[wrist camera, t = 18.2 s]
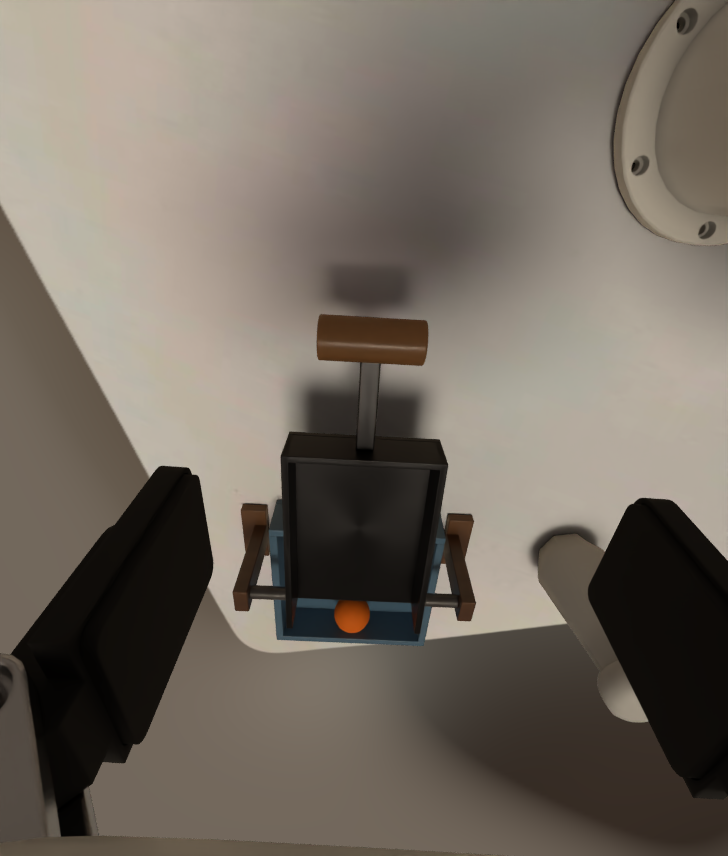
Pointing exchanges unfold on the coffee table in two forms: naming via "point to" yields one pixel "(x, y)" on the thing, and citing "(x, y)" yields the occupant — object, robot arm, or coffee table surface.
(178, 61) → the coffee table surface
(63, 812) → the robot arm
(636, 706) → the salt shaker
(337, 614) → the ball
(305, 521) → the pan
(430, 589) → the tray
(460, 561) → the stand
